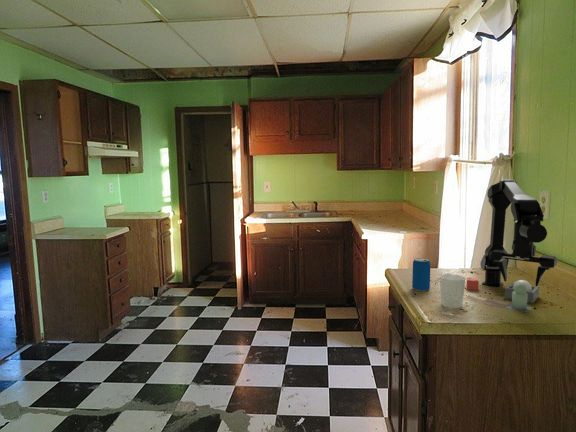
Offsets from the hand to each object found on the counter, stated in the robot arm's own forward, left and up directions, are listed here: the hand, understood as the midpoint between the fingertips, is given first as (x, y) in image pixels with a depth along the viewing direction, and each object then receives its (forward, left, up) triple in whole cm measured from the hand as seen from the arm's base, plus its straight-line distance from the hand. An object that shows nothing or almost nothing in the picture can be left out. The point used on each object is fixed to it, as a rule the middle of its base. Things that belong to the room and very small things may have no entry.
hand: (520, 283), depth 137 cm
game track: (0, -7, -9) cm, 11 cm away
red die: (-13, -19, -9) cm, 24 cm away
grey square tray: (-13, -2, -9) cm, 15 cm away
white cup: (+11, -18, -9) cm, 23 cm away
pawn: (0, 0, -8) cm, 8 cm away
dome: (-13, -2, -8) cm, 15 cm away
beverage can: (0, -34, -9) cm, 35 cm away
